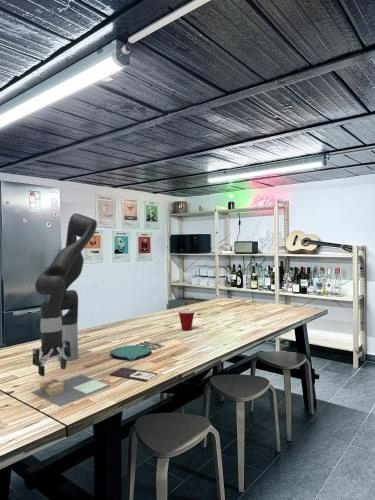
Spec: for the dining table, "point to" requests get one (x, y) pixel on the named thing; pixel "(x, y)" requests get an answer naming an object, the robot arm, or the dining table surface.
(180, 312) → the plastic cup
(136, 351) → the table tennis paddle
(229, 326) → the dining table surface
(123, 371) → the chocolate bar
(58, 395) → the rubber mat
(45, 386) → the oak block
